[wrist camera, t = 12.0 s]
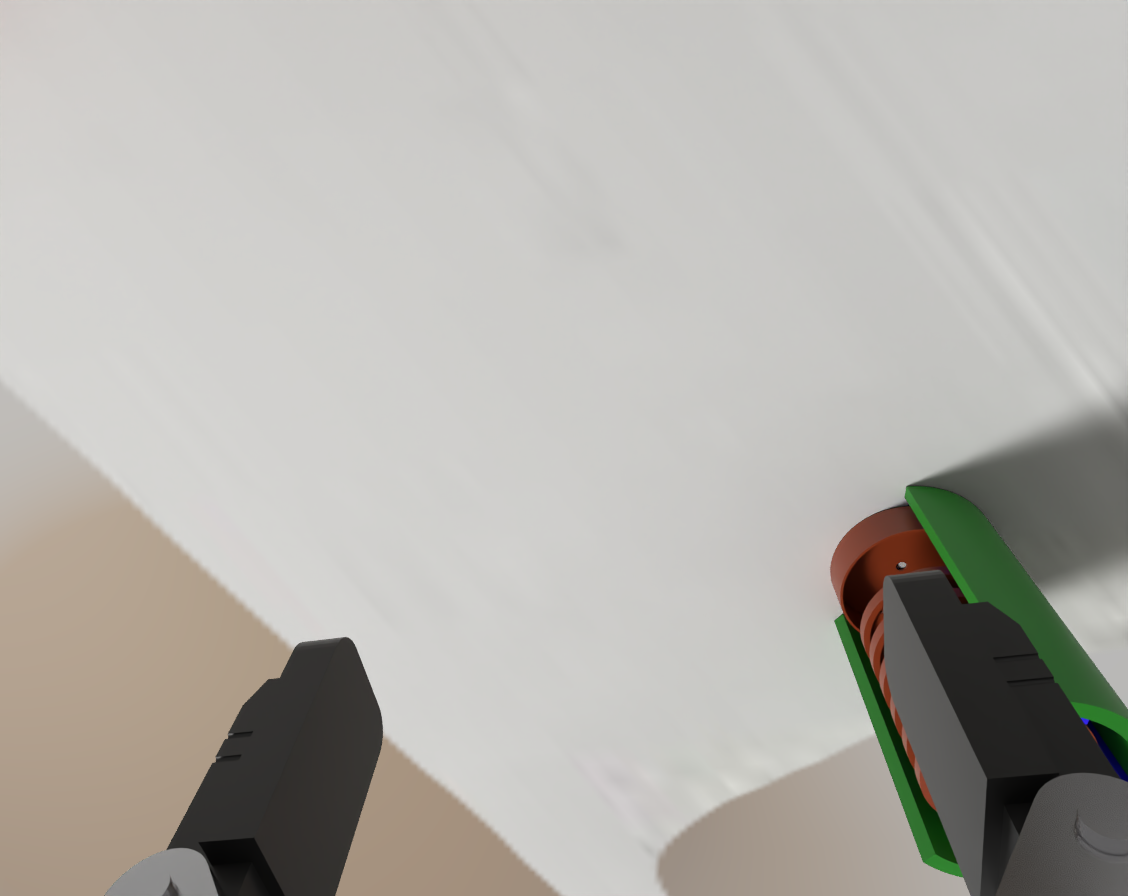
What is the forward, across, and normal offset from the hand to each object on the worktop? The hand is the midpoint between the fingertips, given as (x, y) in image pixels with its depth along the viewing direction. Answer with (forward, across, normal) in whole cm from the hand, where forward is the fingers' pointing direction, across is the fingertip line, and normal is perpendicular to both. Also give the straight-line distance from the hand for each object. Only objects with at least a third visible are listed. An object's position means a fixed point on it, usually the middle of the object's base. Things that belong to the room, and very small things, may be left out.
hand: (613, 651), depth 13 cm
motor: (+30, -13, +22) cm, 39 cm away
